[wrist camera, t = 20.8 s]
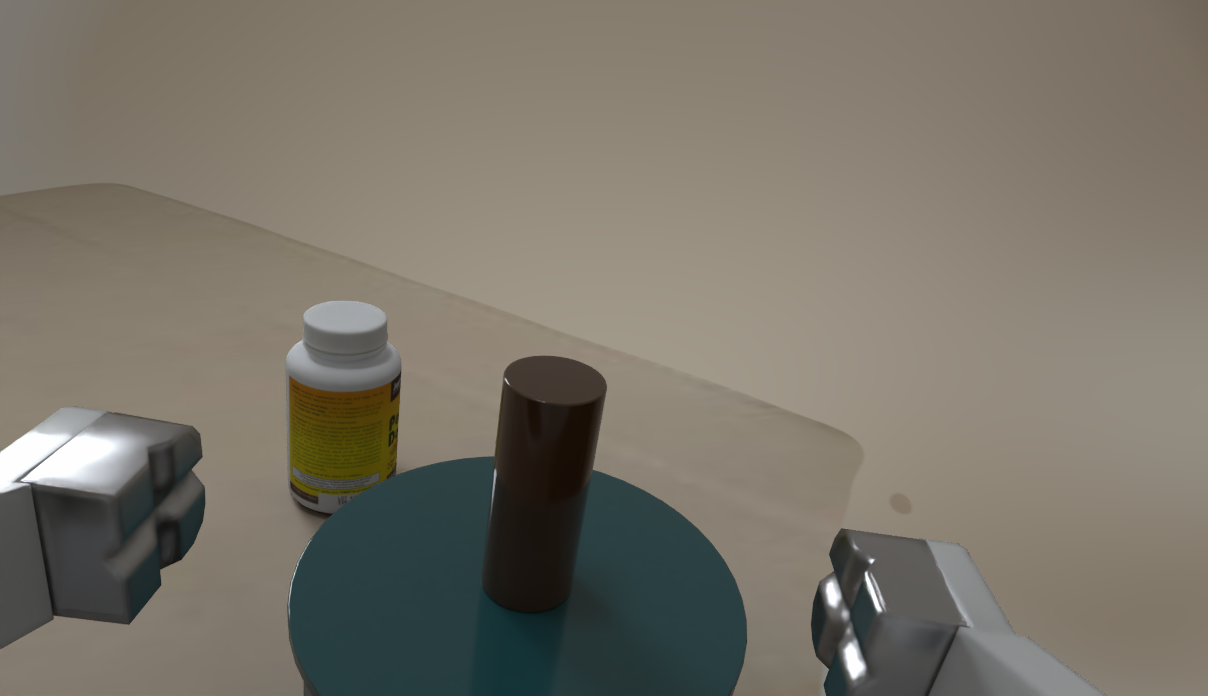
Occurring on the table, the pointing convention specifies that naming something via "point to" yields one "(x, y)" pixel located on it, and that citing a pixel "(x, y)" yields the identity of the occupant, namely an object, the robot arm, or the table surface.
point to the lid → (517, 572)
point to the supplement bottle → (341, 405)
